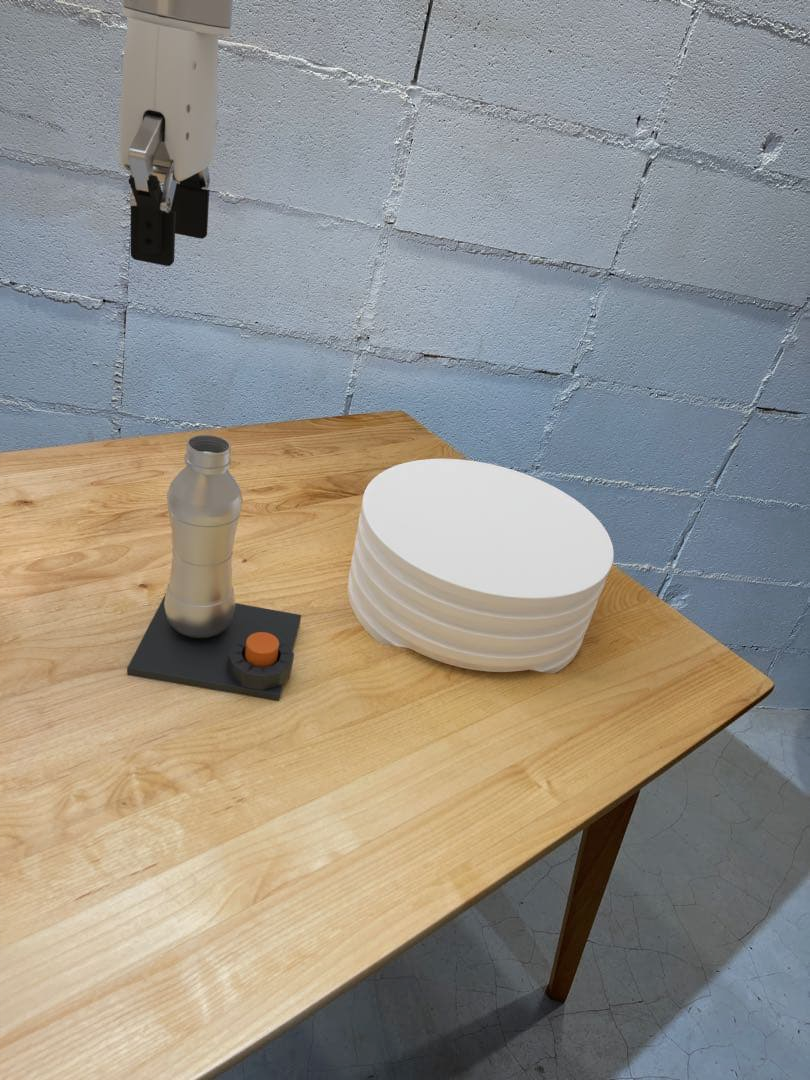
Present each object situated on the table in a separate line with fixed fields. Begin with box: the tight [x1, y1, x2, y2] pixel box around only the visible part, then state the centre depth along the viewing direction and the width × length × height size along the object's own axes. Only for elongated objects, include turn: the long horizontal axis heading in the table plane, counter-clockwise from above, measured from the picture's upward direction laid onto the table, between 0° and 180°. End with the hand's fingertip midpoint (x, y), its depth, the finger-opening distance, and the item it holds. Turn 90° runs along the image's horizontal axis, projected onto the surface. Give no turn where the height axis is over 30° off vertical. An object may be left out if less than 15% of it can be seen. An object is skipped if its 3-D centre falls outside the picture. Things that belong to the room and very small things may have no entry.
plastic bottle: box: [164, 434, 244, 638], centre depth 75 cm, size 6×7×20 cm
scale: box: [126, 593, 302, 702], centre depth 79 cm, size 14×12×4 cm
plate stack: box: [346, 458, 615, 675], centre depth 92 cm, size 28×28×12 cm
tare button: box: [245, 632, 279, 667], centre depth 76 cm, size 3×3×2 cm
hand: (171, 247), depth 67 cm, fingers open, 9 cm apart
